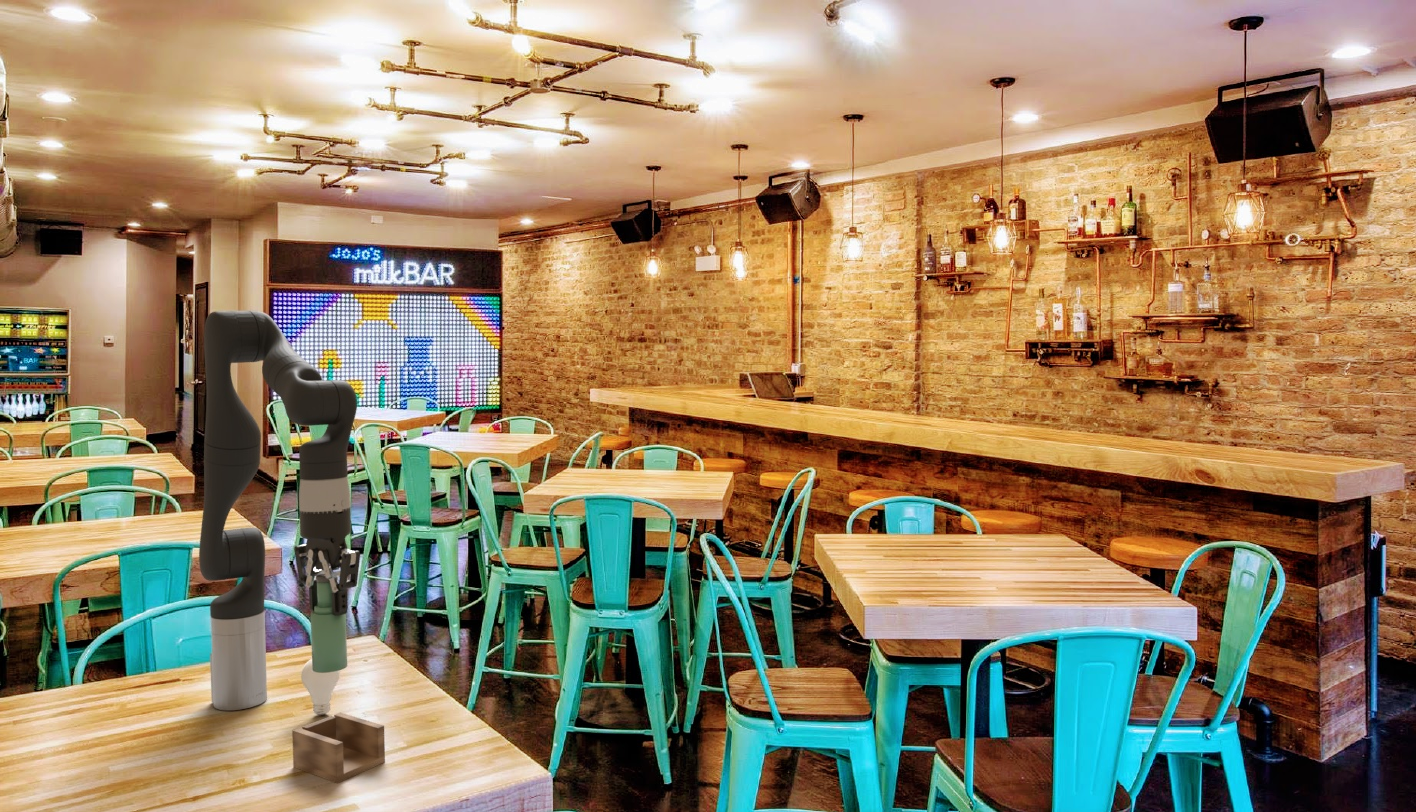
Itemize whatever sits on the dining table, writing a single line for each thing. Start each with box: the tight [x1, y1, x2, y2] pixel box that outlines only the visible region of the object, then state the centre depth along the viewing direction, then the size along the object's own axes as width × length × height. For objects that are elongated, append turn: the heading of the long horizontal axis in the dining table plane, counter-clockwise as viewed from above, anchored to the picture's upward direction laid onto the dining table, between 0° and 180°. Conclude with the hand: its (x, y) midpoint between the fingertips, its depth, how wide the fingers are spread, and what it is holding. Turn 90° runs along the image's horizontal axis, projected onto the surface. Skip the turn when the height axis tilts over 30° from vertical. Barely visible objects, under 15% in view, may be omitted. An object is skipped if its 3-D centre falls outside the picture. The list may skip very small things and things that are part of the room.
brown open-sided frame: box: [291, 712, 386, 784], centre depth 154 cm, size 11×9×6 cm
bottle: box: [310, 574, 348, 673], centre depth 152 cm, size 5×5×15 cm
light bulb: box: [300, 658, 341, 717], centre depth 175 cm, size 7×7×11 cm
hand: (328, 611), depth 152 cm, fingers closed on bottle, 5 cm apart
